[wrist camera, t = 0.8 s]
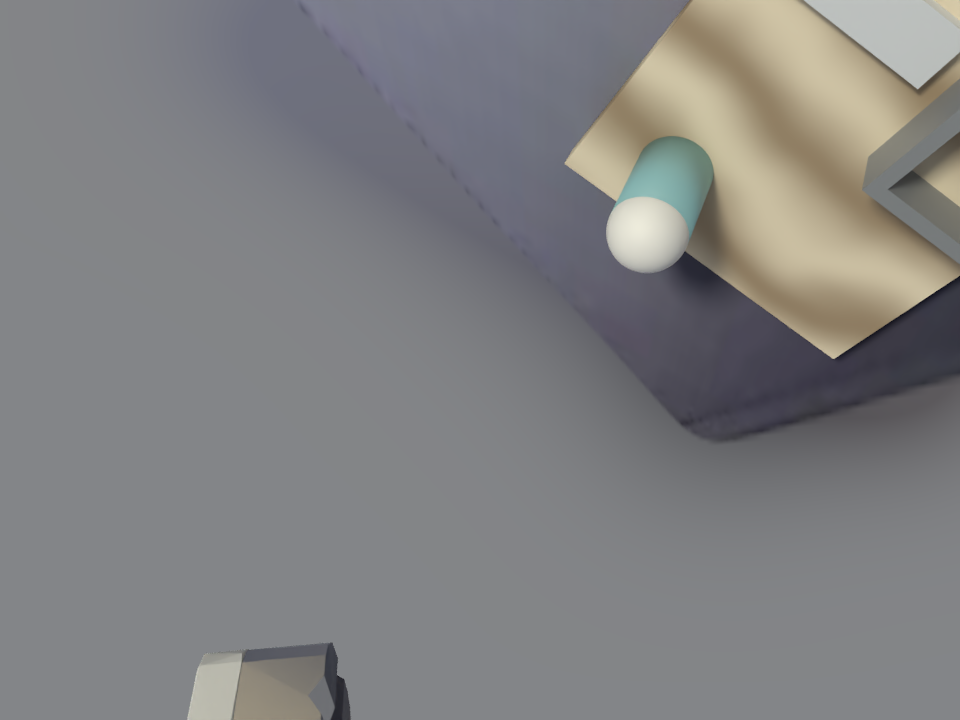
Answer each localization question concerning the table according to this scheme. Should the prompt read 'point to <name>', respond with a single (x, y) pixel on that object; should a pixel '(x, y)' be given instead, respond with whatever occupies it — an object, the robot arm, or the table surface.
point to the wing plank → (899, 32)
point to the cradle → (907, 190)
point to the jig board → (785, 161)
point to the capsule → (659, 204)
